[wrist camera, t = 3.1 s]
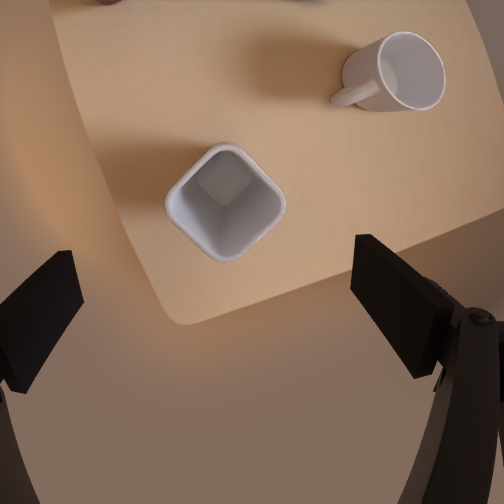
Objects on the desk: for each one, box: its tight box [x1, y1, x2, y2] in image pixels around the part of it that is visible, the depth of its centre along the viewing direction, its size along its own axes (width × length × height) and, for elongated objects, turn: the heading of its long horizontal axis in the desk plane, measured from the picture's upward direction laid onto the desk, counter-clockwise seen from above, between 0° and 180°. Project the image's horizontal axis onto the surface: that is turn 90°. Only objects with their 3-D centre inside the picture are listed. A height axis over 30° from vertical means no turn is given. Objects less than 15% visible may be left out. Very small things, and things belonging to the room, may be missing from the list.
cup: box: [164, 142, 286, 262], centre depth 30 cm, size 7×7×15 cm
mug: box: [331, 31, 446, 112], centre depth 29 cm, size 12×8×10 cm
